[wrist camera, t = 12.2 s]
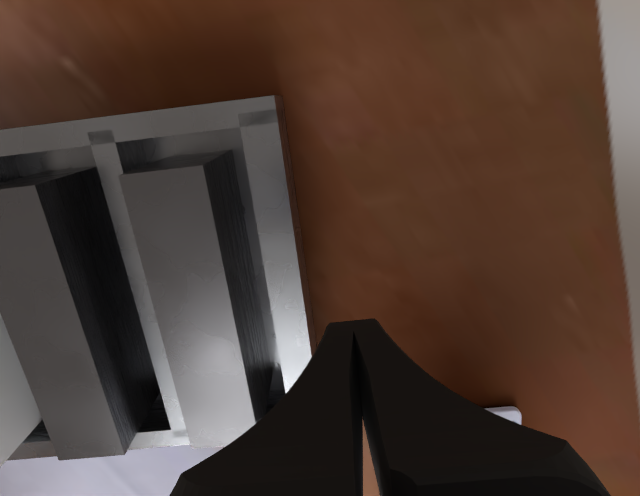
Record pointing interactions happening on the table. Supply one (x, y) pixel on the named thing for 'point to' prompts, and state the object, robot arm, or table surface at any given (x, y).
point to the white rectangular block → (14, 399)
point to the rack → (153, 275)
